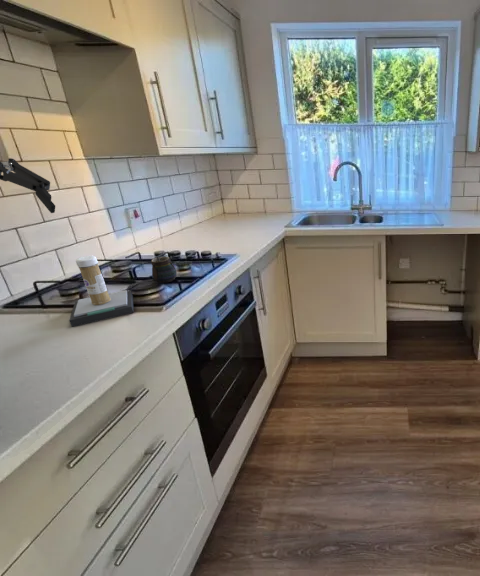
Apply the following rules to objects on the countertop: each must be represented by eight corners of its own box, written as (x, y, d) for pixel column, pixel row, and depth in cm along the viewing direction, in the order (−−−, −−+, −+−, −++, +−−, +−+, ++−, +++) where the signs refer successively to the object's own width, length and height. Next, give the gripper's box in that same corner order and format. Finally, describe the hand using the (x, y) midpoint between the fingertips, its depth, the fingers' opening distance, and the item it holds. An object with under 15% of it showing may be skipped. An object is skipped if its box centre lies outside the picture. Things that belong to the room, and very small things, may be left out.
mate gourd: (177, 275, 130) (169, 248, 126) (179, 281, 124) (172, 254, 120) (154, 280, 126) (145, 252, 122) (155, 286, 120) (147, 258, 116)
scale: (71, 327, 96) (68, 318, 95) (77, 307, 107) (74, 299, 106) (133, 312, 103) (130, 304, 102) (133, 296, 114) (130, 288, 113)
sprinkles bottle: (88, 305, 102) (70, 260, 97) (101, 298, 106) (84, 255, 101) (103, 305, 102) (86, 260, 96) (115, 298, 106) (99, 255, 101)
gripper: (28, 156, 100) (76, 214, 100) (-113, 164, 80) (-53, 237, 79) (29, 135, 96) (80, 196, 95) (-120, 138, 76) (-56, 214, 75)
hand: (19, 214), depth 87 cm, fingers open, 13 cm apart
